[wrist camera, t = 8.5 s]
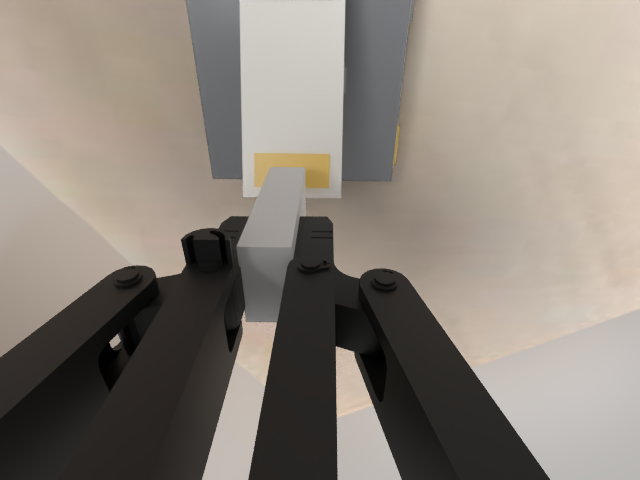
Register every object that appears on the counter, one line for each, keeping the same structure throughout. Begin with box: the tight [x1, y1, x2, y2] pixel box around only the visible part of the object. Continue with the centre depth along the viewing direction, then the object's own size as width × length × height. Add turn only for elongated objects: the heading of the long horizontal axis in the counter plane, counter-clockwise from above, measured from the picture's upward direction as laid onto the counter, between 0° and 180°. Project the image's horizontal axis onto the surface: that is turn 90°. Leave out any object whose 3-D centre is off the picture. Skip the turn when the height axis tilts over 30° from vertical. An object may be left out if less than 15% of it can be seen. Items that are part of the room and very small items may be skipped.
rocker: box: [239, 0, 345, 198], centre depth 18 cm, size 11×5×2 cm, turn 0°
